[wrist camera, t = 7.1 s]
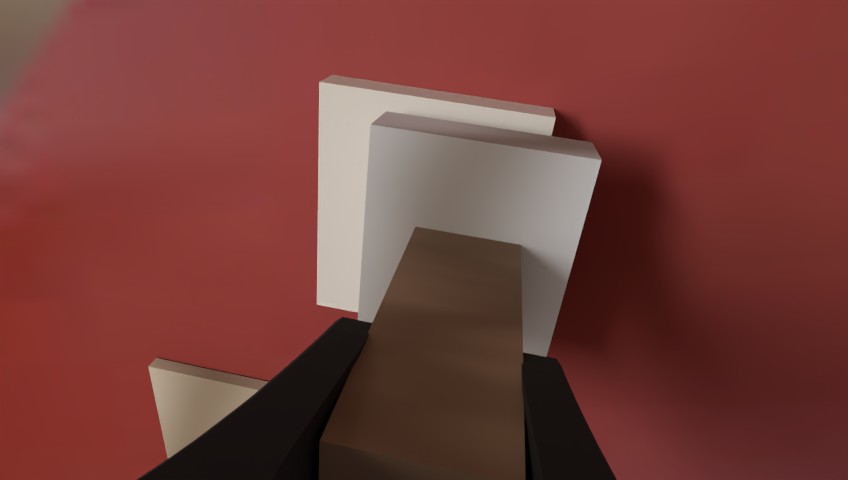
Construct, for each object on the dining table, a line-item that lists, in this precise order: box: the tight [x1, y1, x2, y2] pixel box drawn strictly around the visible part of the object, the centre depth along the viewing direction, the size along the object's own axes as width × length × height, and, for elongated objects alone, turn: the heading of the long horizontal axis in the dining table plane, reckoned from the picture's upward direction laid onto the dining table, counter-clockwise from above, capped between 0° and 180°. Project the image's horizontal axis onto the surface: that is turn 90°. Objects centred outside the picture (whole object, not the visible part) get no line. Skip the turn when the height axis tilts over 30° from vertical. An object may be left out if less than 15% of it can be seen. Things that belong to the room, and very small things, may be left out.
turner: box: [318, 111, 602, 480], centre depth 10 cm, size 5×7×8 cm
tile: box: [317, 75, 556, 312], centre depth 15 cm, size 2×7×6 cm
